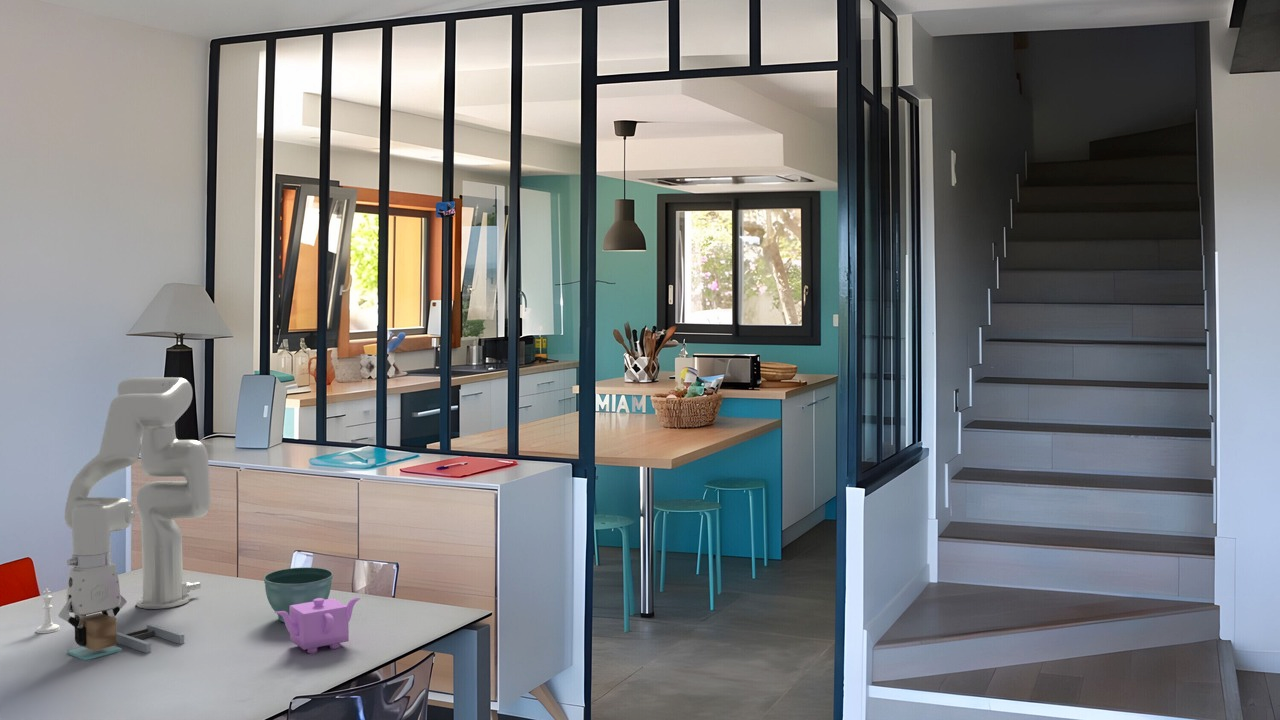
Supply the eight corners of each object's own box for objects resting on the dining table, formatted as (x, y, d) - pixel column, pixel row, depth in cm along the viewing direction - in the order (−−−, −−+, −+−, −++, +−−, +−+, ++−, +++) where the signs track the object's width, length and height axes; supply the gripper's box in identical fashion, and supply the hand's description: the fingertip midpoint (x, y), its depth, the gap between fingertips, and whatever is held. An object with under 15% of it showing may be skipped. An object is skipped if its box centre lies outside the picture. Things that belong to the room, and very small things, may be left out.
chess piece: (49, 634, 253) (48, 591, 253) (31, 632, 254) (30, 590, 254) (64, 627, 258) (63, 586, 258) (46, 626, 259) (45, 585, 259)
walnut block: (100, 639, 243) (99, 612, 243) (116, 644, 239) (116, 618, 239) (78, 644, 239) (77, 618, 239) (94, 650, 235) (93, 623, 235)
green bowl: (347, 614, 270) (346, 571, 270) (301, 631, 256) (300, 586, 255) (297, 606, 277) (296, 564, 276) (249, 623, 262) (249, 579, 262)
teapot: (330, 659, 236) (329, 609, 235) (274, 655, 238) (273, 606, 238) (362, 638, 251) (361, 592, 250) (309, 634, 253) (308, 588, 253)
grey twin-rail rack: (150, 632, 255) (150, 623, 255) (184, 642, 247) (184, 634, 247) (113, 641, 248) (113, 632, 248) (146, 653, 240) (146, 644, 239)
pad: (102, 644, 246) (102, 641, 246) (121, 651, 241) (121, 648, 241) (66, 653, 239) (66, 650, 239) (85, 660, 235) (85, 657, 235)
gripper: (61, 570, 230) (63, 654, 231) (138, 555, 244) (140, 634, 245) (44, 565, 234) (46, 648, 235) (120, 550, 248) (122, 629, 249)
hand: (94, 640), depth 240 cm, fingers closed on walnut block, 4 cm apart
